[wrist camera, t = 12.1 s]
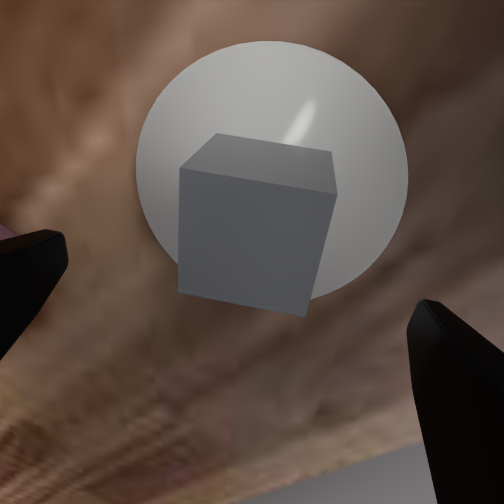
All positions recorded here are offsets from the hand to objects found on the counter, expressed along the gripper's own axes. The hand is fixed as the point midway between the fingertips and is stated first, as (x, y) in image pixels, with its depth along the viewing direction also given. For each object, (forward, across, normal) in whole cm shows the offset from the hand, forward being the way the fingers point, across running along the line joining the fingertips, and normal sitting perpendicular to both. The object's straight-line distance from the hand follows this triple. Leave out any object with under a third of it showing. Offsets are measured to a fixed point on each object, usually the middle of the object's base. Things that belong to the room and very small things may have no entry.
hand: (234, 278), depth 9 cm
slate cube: (+5, 0, 0) cm, 5 cm away
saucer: (+6, 0, 0) cm, 6 cm away
